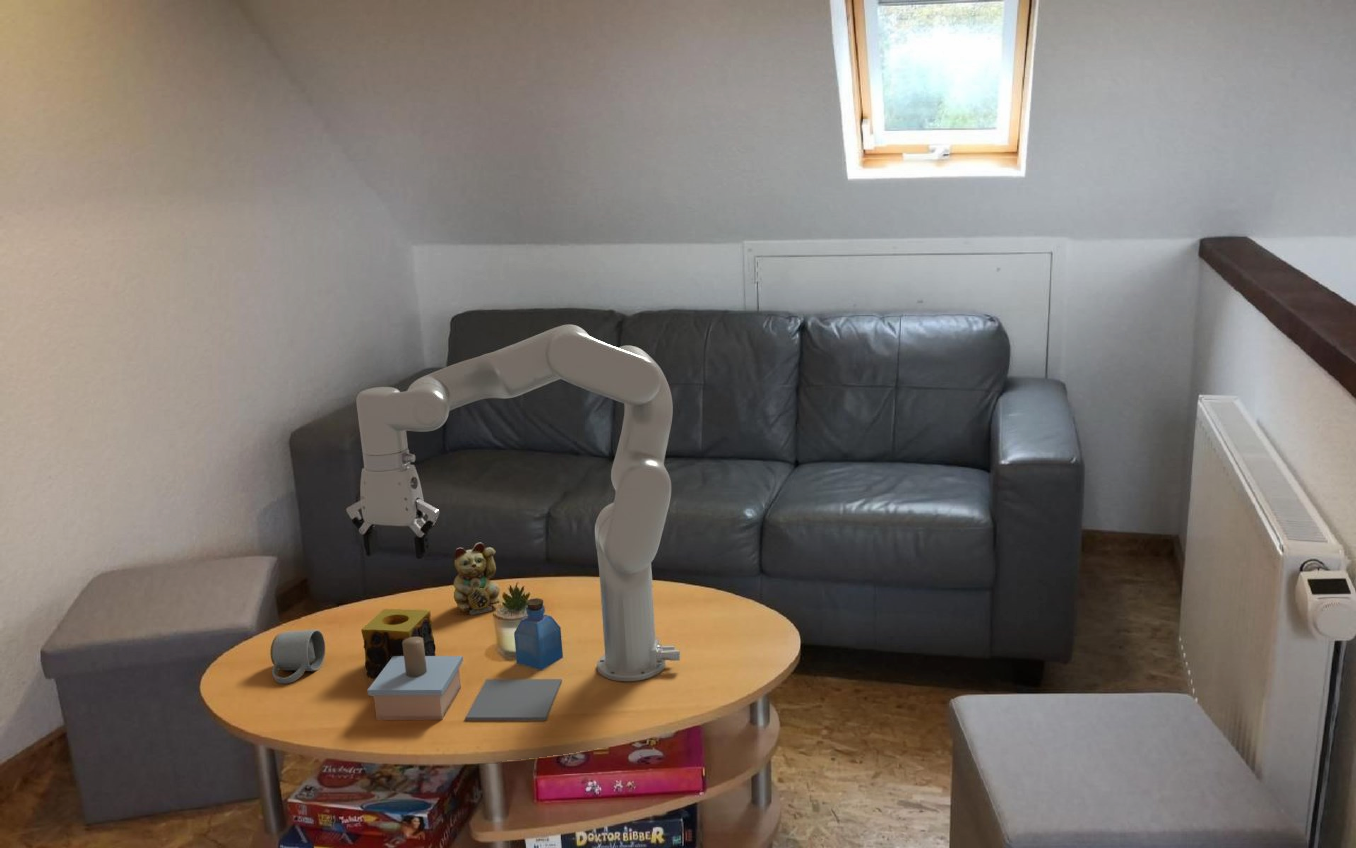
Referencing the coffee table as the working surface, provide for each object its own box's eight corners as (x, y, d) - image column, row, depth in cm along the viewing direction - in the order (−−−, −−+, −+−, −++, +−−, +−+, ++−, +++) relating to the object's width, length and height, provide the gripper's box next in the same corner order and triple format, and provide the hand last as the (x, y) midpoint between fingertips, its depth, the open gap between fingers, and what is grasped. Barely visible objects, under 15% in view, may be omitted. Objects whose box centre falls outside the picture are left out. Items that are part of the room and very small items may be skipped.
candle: (415, 682, 207) (409, 632, 205) (365, 679, 210) (359, 630, 207) (437, 657, 217) (432, 609, 215) (389, 655, 219) (383, 607, 217)
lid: (463, 661, 203) (459, 625, 202) (442, 695, 191) (437, 657, 189) (393, 661, 205) (389, 625, 203) (368, 695, 192) (363, 657, 190)
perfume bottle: (562, 657, 214) (558, 598, 211) (541, 670, 209) (536, 610, 206) (538, 650, 218) (533, 593, 215) (516, 663, 213) (511, 604, 210)
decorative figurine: (461, 620, 234) (454, 552, 230) (449, 607, 241) (442, 541, 237) (505, 609, 238) (499, 542, 235) (492, 596, 245) (485, 531, 242)
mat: (561, 682, 204) (561, 679, 204) (546, 720, 191) (545, 717, 191) (486, 682, 206) (486, 679, 206) (465, 720, 192) (465, 717, 192)
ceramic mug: (288, 659, 220) (282, 623, 218) (328, 659, 219) (323, 623, 217) (263, 685, 209) (256, 648, 207) (304, 686, 208) (298, 648, 206)
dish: (461, 688, 204) (458, 662, 203) (442, 720, 193) (439, 693, 192) (399, 688, 205) (396, 663, 204) (376, 719, 194) (373, 693, 193)
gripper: (442, 455, 192) (452, 549, 197) (353, 453, 197) (364, 545, 201) (421, 467, 185) (432, 565, 190) (329, 465, 190) (342, 560, 194)
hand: (397, 554), depth 195 cm, fingers open, 9 cm apart
